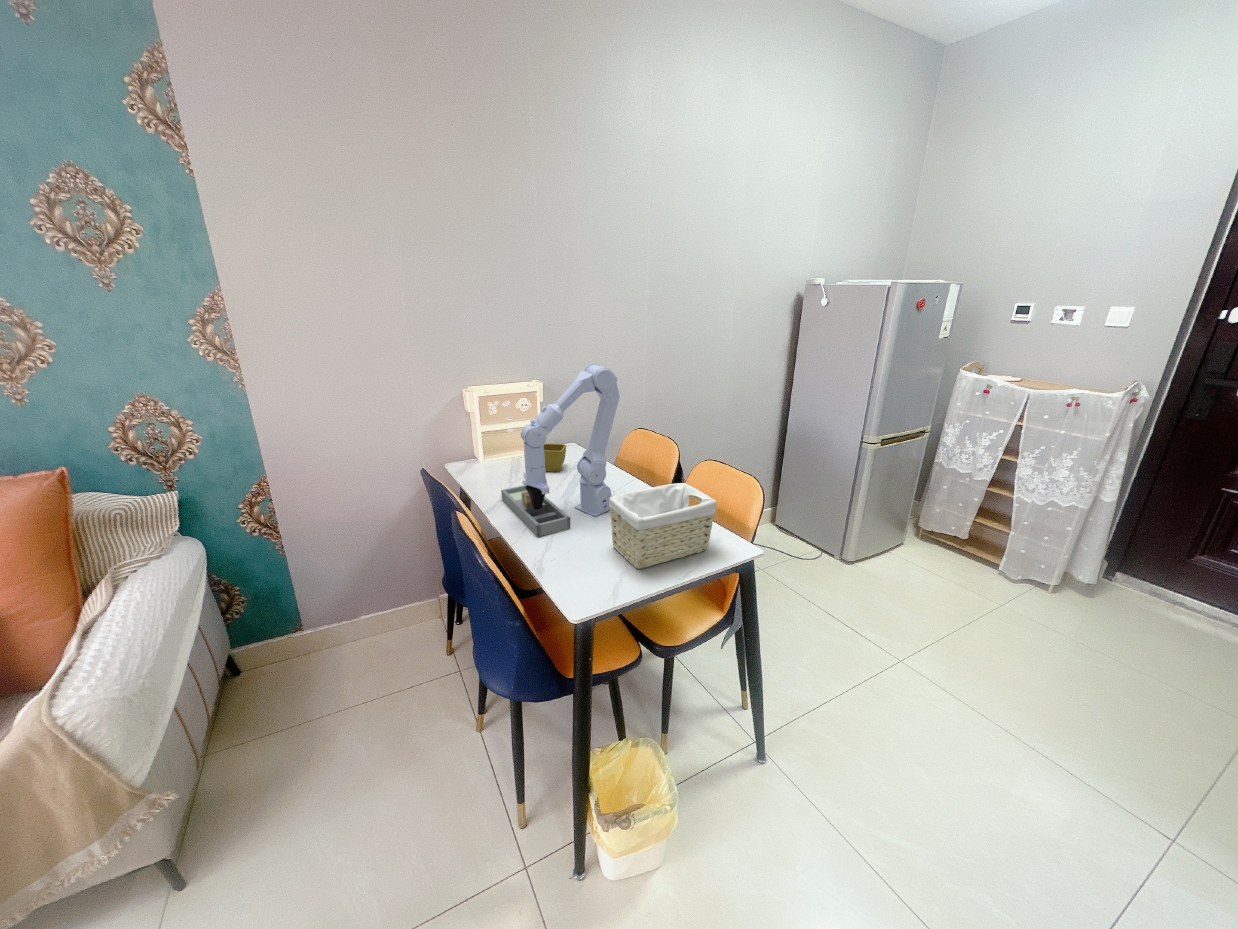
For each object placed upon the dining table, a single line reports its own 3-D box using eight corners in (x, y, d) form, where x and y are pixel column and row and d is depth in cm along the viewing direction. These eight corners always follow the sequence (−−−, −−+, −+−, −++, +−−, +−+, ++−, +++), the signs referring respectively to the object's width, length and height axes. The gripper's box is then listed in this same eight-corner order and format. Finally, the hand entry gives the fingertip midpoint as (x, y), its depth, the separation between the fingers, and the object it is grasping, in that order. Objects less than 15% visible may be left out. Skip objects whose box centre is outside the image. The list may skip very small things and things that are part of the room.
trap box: (570, 528, 138) (570, 517, 137) (537, 537, 133) (537, 526, 132) (531, 493, 162) (530, 483, 161) (502, 499, 157) (501, 490, 156)
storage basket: (680, 527, 140) (682, 479, 135) (716, 552, 126) (720, 500, 121) (606, 546, 129) (605, 495, 124) (636, 576, 115) (637, 520, 110)
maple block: (539, 505, 149) (538, 493, 147) (526, 508, 147) (526, 496, 145) (534, 500, 152) (533, 489, 150) (522, 503, 150) (521, 491, 149)
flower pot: (567, 466, 188) (566, 443, 185) (562, 474, 180) (561, 451, 177) (545, 465, 189) (544, 443, 186) (539, 473, 181) (538, 450, 178)
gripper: (513, 460, 143) (516, 502, 148) (531, 475, 132) (534, 520, 136) (535, 456, 147) (537, 497, 152) (555, 470, 135) (557, 514, 140)
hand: (537, 508), depth 144 cm, fingers closed
